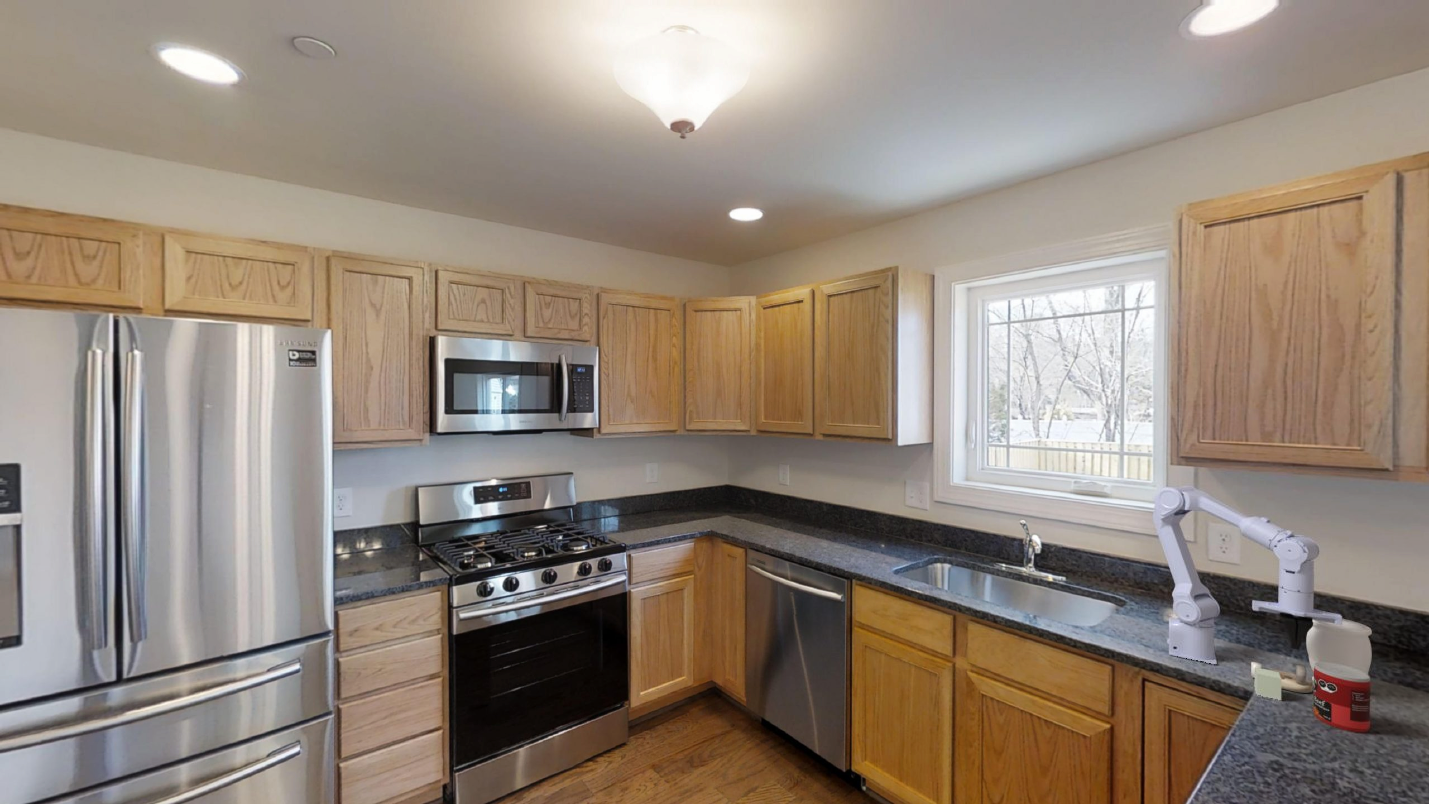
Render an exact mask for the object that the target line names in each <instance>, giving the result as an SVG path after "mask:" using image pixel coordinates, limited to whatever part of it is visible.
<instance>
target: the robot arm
mask: <svg viewBox="0 0 1429 804" xmlns="http://www.w3.org/2000/svg"><path fill="white" fill-rule="evenodd" d="M1152 499H1153V502H1154V507H1153V513H1152V522H1153V524H1154V527H1155V528H1154V529H1155V530H1156V533H1157V536H1158V540H1159V542H1160V545H1161V547H1162V550H1163V553H1164V555H1165V559H1166V562H1167V564H1168V567H1169V570H1170V573H1171V576H1172V579H1173V582H1174V589H1173V591H1172V592H1171V593H1172V594H1171V597H1172V598H1173V604H1172V610H1173V612H1174V614H1175V616H1176V617H1169V618H1168V637H1167V638H1166V642H1167V644H1166V645H1167V646H1168V655H1170V656H1173V657H1177V656H1178V658H1182V659H1186V658H1187V660H1191V659H1192V660H1191V661H1196V660H1198V661H1197V662H1200V661H1204V662H1203V663H1205V662H1206V664H1209V663H1211V664H1210V665H1214V664H1217V665H1218V663H1217V662H1218V661H1217V657H1216V654H1215V619H1216V618H1217V617H1218V616H1219V615H1220V612H1221V608H1220V605H1219V603H1218V602H1217V600H1216V599H1215V598H1214V597H1213V595H1212V594H1211V592H1210V589H1209V588H1208V587H1207V586H1205V585H1204V584H1203V583H1202V582H1201V580H1200V576H1199V575H1198V571H1197V569H1196V566H1195V564H1194V561H1193V557H1192V555H1191V552H1190V549H1189V546H1188V544H1187V541H1186V538H1185V536H1184V533H1183V529H1182V527H1181V524H1180V522H1182V520H1183V519H1184V518H1185V517H1186V515H1187V514H1189V513H1190V512H1191V511H1196V512H1197V511H1198V512H1205V513H1207V514H1209V515H1211V516H1213V517H1214V518H1217V519H1220V520H1222V521H1223V522H1226V523H1227V524H1230V525H1232V526H1234V527H1236V528H1238V529H1239V531H1240V533H1241V535H1242V536H1243V537H1245V538H1246V539H1248V540H1250V541H1253V542H1254V543H1255V544H1258V545H1260V546H1262V547H1264V548H1266V549H1267V550H1270V551H1271V552H1274V554H1275V556H1276V557H1277V558H1278V560H1279V561H1278V562H1279V563H1278V565H1279V566H1278V595H1277V596H1278V597H1277V599H1278V602H1272V601H1261V600H1254V599H1253V600H1252V602H1251V605H1252V606H1251V608H1252V610H1253V611H1255V612H1260V611H1261V612H1264V613H1266V612H1267V613H1272V614H1277V615H1278V616H1279V618H1280V620H1281V622H1282V624H1283V627H1284V629H1285V631H1286V633H1287V638H1288V642H1289V647H1290V649H1292V650H1297V651H1300V650H1301V646H1302V644H1303V640H1304V638H1305V637H1306V636H1307V632H1308V631H1309V630H1310V629H1311V628H1312V626H1313V621H1312V620H1318V621H1324V622H1330V623H1335V624H1337V625H1342V619H1343V616H1342V614H1340V613H1336V612H1335V613H1334V612H1328V611H1324V610H1320V609H1316V608H1314V599H1315V598H1314V597H1315V596H1314V592H1315V591H1314V590H1315V589H1314V587H1315V571H1314V570H1315V561H1314V560H1315V559H1317V558H1318V557H1319V555H1320V547H1319V545H1318V544H1317V543H1316V541H1314V540H1313V539H1311V538H1310V537H1308V536H1306V535H1302V534H1300V535H1299V534H1295V532H1294V531H1293V530H1291V529H1288V530H1287V529H1284V528H1282V527H1280V526H1278V525H1277V524H1275V523H1272V522H1271V519H1270V518H1268V517H1266V516H1262V517H1260V516H1254V515H1253V516H1247V515H1245V514H1244V513H1242V512H1240V511H1238V510H1236V509H1234V508H1233V507H1231V506H1229V505H1228V504H1226V503H1224V502H1222V501H1220V500H1218V499H1217V498H1215V497H1213V496H1211V494H1209V493H1207V492H1205V491H1204V490H1201V489H1197V488H1196V487H1195V486H1192V485H1182V486H1174V487H1173V486H1172V487H1170V486H1166V487H1163V488H1161V489H1160V490H1159V491H1157V493H1156V494H1154V496H1153V497H1152Z"/></svg>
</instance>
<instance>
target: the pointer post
mask: <svg viewBox="0 0 1429 804" xmlns="http://www.w3.org/2000/svg"><path fill="white" fill-rule="evenodd" d="M1250 665H1251V666H1250V669H1251V670H1250V677H1251V676H1252V677H1254V678H1255V667H1256V668H1261V669H1262V667H1263V665H1262V664H1261V663H1259V662H1257V661H1256V662H1255V661H1251V663H1250Z"/></svg>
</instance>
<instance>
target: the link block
mask: <svg viewBox="0 0 1429 804" xmlns="http://www.w3.org/2000/svg"><path fill="white" fill-rule="evenodd" d="M1270 670H1271V669H1265V668H1262V667H1261V668H1256V667H1255V679H1254V681H1253V683H1254V684H1253V685H1254V687H1255V689H1254V692H1255V691H1256V692H1255V694H1257V695H1256V696H1258V695H1261V696H1260V697H1262V696H1263V698H1266V697H1268V698H1267V699H1270V698H1273V699H1272V700H1275V699H1278V700H1277V701H1279V700H1281V701H1282V688H1281V677H1280V674H1279V672H1275V671H1270ZM1254 687H1253V688H1254Z"/></svg>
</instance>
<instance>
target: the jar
mask: <svg viewBox="0 0 1429 804" xmlns="http://www.w3.org/2000/svg"><path fill="white" fill-rule="evenodd" d="M1312 621H1313V626H1312V628H1311V629H1310V630H1309V631H1308V632H1307V634H1306V638H1305V639H1306V642H1305V644H1306V651H1307V654H1308V661H1309V664H1310V667H1311V670H1312V673H1314V664H1315V663H1316V662H1329V663H1336V664H1340V665H1345V666H1348V667H1351V668H1355V669H1357V670H1360V671H1362V672H1364V673H1366V674H1367V675H1369V670H1370V667H1371V663H1372V656H1373V655H1372V653H1373V652H1372V644H1371V641H1370V638H1369V636H1371V635H1372V632H1373V631H1372V629H1371V627H1369V626H1367V625H1365V624H1362V623H1359V622H1356V621H1353V620H1349V619H1345V618H1342V625H1337V624H1335V623H1330V622H1324V621H1318V620H1312ZM1311 681H1312V682H1314V675H1313V676H1312V677H1311Z"/></svg>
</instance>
